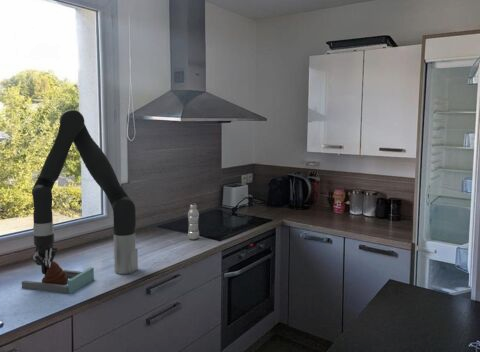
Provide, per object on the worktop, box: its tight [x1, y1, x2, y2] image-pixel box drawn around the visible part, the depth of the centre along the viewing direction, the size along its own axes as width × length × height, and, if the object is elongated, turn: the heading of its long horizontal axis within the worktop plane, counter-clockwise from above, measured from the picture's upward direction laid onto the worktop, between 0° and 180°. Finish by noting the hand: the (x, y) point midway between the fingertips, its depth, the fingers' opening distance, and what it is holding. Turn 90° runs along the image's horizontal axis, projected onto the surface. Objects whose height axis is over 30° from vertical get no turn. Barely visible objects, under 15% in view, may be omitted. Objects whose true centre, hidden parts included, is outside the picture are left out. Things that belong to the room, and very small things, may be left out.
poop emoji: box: [41, 260, 69, 285], centre depth 169 cm, size 10×8×9 cm
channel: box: [21, 267, 95, 294], centre depth 169 cm, size 22×16×5 cm
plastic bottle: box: [187, 203, 200, 240], centre depth 233 cm, size 6×7×20 cm
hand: (45, 273), depth 170 cm, fingers closed
